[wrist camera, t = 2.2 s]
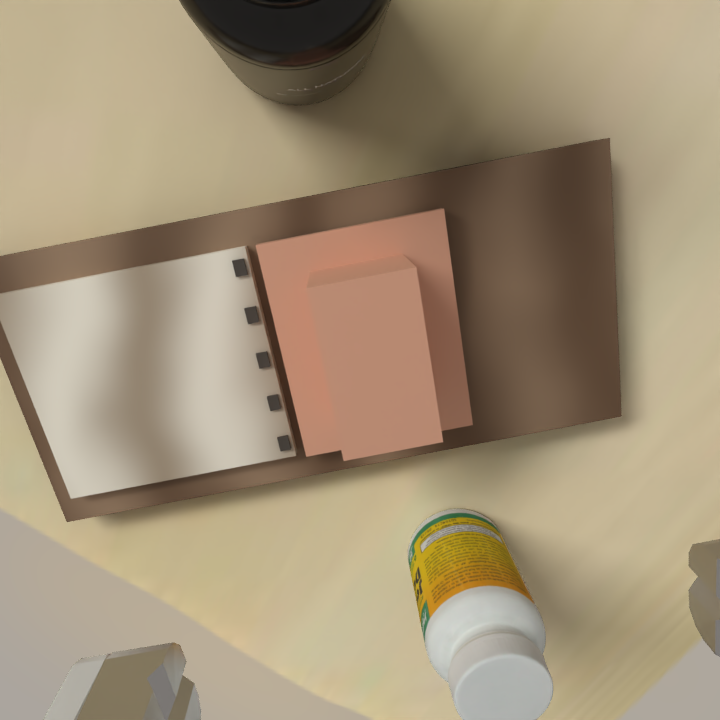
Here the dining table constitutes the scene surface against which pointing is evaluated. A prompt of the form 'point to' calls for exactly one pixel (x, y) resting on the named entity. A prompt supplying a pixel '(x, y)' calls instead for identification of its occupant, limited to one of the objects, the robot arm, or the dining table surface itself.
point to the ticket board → (260, 342)
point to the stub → (369, 334)
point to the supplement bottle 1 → (291, 43)
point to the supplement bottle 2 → (479, 618)
